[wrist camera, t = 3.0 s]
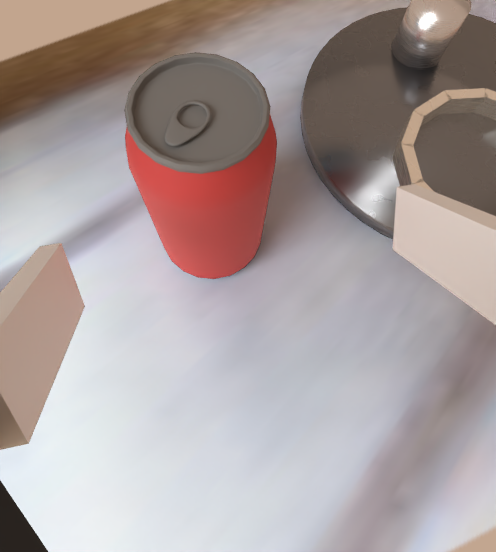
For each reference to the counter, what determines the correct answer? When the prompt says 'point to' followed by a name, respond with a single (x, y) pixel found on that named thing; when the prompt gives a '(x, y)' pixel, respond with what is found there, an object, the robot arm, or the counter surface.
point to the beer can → (202, 159)
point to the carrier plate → (405, 109)
